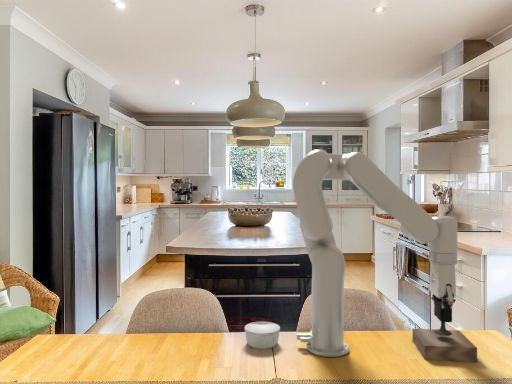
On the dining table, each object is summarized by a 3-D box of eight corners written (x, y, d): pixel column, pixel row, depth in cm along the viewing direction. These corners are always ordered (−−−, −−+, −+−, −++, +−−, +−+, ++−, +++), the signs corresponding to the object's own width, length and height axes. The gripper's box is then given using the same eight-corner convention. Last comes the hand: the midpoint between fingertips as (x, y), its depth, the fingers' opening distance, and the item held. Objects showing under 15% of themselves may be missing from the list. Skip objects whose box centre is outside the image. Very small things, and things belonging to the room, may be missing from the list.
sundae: (453, 330, 125) (454, 280, 125) (456, 338, 118) (457, 286, 118) (430, 327, 127) (430, 279, 127) (431, 335, 121) (432, 284, 120)
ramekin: (273, 335, 136) (273, 319, 136) (285, 348, 125) (285, 331, 125) (240, 339, 133) (240, 322, 133) (249, 352, 122) (249, 334, 122)
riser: (424, 359, 117) (424, 345, 117) (412, 341, 131) (412, 328, 131) (477, 362, 115) (477, 348, 115) (459, 343, 129) (459, 330, 129)
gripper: (422, 252, 131) (421, 309, 132) (438, 262, 114) (438, 328, 115) (447, 253, 130) (446, 310, 131) (467, 263, 114) (466, 329, 114)
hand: (442, 318), depth 123 cm, fingers closed on sundae, 4 cm apart
